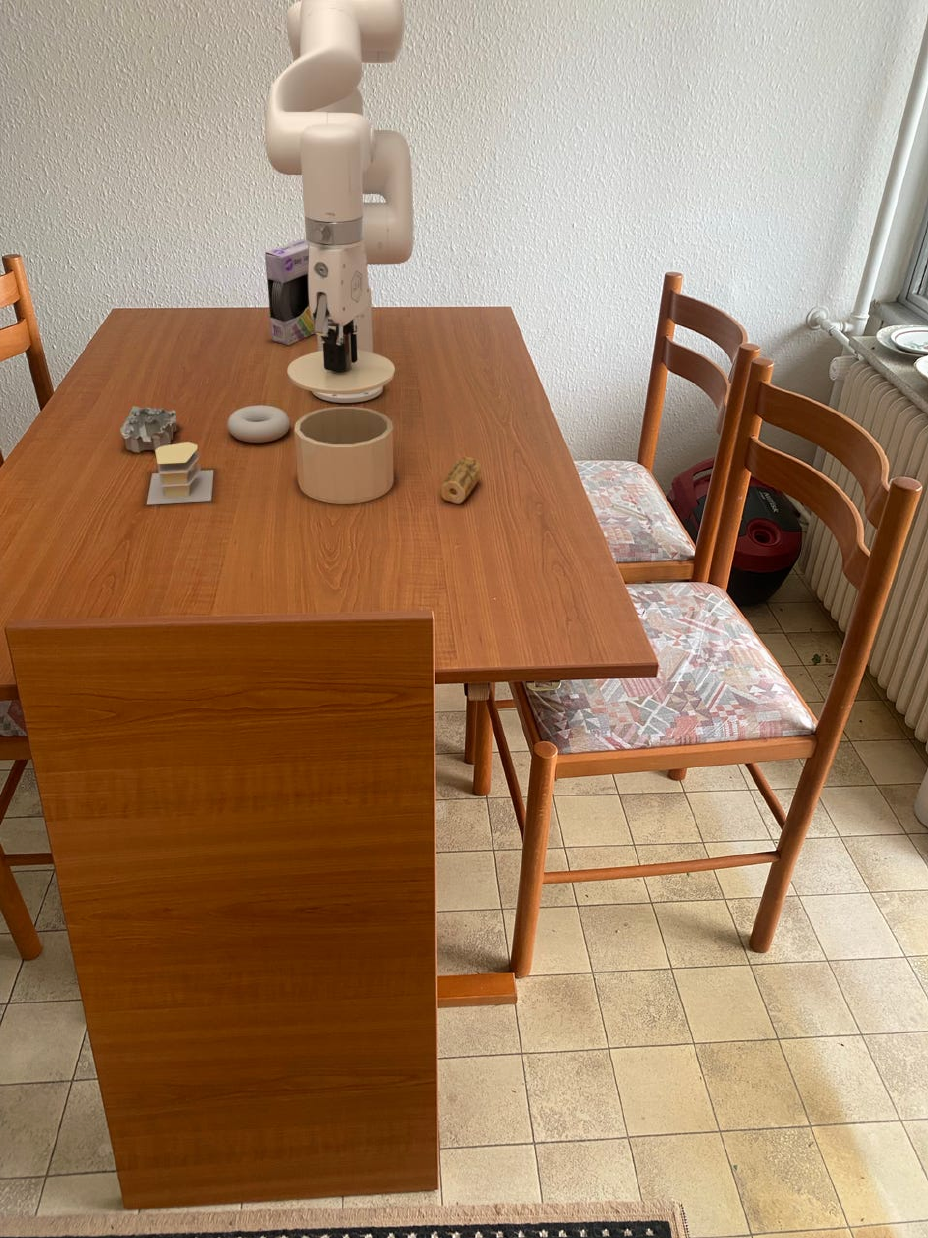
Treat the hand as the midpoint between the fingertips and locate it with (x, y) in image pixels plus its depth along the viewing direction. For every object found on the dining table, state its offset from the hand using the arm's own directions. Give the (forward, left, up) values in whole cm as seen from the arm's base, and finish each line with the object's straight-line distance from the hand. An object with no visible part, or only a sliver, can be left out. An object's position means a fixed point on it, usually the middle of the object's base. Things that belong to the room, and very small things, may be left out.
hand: (341, 364), depth 145 cm
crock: (0, 0, -18) cm, 18 cm away
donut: (-11, -20, -18) cm, 29 cm away
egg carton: (-3, -35, -18) cm, 39 cm away
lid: (0, 0, -1) cm, 1 cm away
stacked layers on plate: (+10, -22, -18) cm, 30 cm away
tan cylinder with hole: (-3, +17, -18) cm, 25 cm away
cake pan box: (-58, -33, -18) cm, 69 cm away
